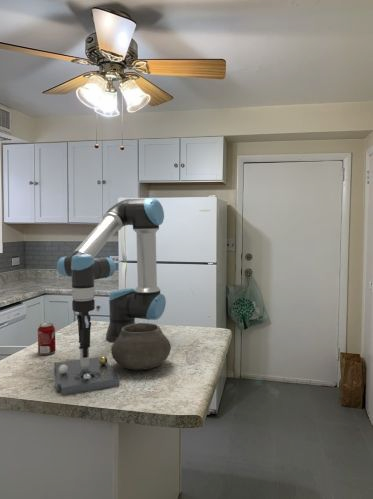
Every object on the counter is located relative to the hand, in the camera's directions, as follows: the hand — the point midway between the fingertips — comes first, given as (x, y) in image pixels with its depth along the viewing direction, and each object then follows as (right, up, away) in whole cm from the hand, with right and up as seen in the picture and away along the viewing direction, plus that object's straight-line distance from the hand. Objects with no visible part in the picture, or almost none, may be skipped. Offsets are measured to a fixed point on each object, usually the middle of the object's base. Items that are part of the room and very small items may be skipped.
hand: (84, 365), depth 135 cm
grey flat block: (+1, -4, -2) cm, 4 cm away
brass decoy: (+6, +1, +3) cm, 7 cm away
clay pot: (+19, -3, +8) cm, 21 cm away
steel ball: (+3, -2, -7) cm, 8 cm away
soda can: (-22, -2, +24) cm, 33 cm away
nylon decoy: (-6, 0, -5) cm, 8 cm away
